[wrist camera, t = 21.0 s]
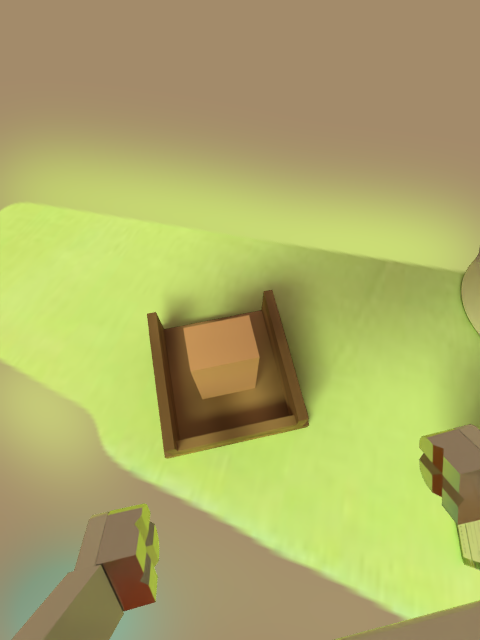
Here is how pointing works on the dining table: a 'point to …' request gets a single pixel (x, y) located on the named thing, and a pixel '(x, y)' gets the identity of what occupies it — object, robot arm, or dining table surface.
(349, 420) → the dining table surface
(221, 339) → the terracotta block
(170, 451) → the walnut slot rack
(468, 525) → the syrup box
